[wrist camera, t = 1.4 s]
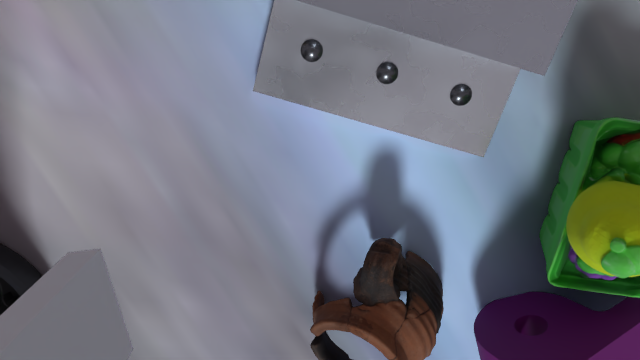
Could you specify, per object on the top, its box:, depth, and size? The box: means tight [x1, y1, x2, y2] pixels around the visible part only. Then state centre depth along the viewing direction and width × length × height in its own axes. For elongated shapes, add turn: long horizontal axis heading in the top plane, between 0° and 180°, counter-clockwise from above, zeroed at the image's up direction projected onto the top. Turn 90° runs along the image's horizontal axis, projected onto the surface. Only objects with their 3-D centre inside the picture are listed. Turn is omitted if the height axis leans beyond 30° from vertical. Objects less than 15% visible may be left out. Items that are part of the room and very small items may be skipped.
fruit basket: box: [539, 117, 640, 298], centre depth 29 cm, size 11×9×11 cm
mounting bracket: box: [474, 292, 640, 360], centre depth 36 cm, size 9×8×18 cm
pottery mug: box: [310, 238, 443, 360], centre depth 35 cm, size 12×9×8 cm
